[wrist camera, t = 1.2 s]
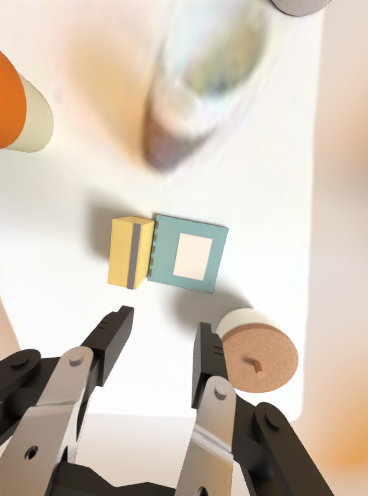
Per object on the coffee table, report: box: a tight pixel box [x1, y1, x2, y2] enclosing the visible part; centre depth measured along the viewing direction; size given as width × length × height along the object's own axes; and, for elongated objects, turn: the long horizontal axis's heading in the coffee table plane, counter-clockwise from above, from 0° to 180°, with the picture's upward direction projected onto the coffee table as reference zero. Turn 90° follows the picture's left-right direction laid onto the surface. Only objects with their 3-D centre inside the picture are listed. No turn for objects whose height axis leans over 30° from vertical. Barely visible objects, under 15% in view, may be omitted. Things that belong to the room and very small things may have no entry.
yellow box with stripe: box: [108, 216, 155, 290], centre depth 25 cm, size 9×4×6 cm, turn 170°
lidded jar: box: [216, 308, 298, 393], centre depth 26 cm, size 11×11×9 cm
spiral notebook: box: [148, 215, 228, 294], centre depth 28 cm, size 11×11×1 cm
